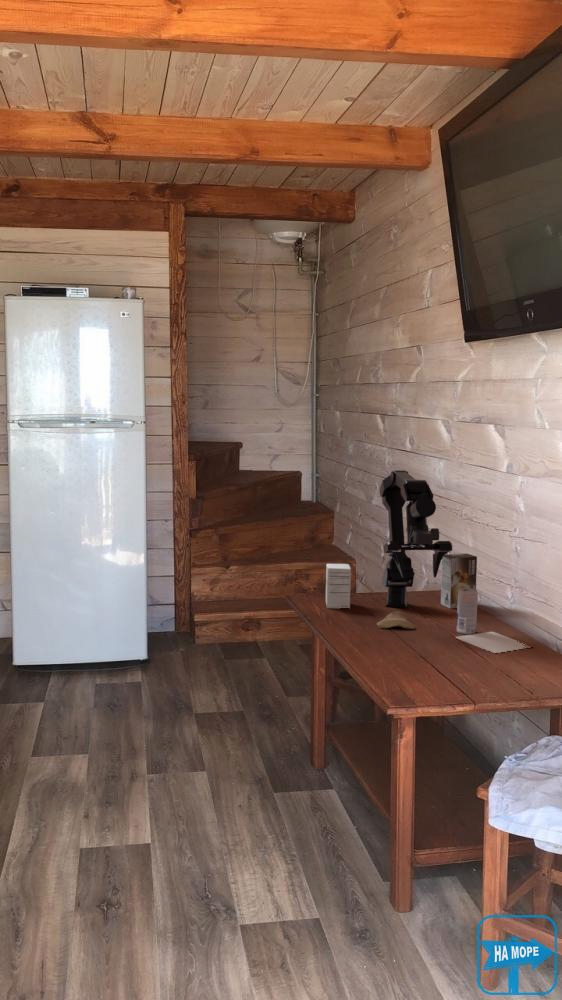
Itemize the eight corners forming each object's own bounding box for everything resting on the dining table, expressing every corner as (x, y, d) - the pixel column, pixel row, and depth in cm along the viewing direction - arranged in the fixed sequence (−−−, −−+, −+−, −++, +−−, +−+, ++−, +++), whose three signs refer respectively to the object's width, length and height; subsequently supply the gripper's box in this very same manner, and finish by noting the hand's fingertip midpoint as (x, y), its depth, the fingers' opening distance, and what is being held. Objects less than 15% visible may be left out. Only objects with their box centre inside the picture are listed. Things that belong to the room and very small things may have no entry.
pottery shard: (415, 635, 244) (411, 618, 254) (415, 621, 243) (411, 604, 252) (377, 636, 245) (374, 619, 254) (377, 622, 243) (374, 606, 253)
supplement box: (325, 602, 274) (326, 563, 272) (348, 603, 274) (349, 563, 272) (326, 608, 266) (327, 567, 265) (350, 609, 266) (351, 568, 265)
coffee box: (465, 602, 278) (467, 552, 276) (475, 607, 271) (478, 556, 270) (439, 604, 275) (441, 554, 273) (449, 608, 269) (451, 557, 267)
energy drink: (469, 628, 246) (471, 587, 244) (479, 634, 241) (481, 591, 239) (452, 630, 244) (454, 588, 243) (462, 635, 239) (464, 592, 238)
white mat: (455, 637, 236) (455, 636, 236) (492, 632, 242) (492, 631, 242) (495, 653, 222) (495, 652, 222) (533, 647, 228) (533, 646, 228)
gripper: (391, 518, 240) (393, 574, 237) (456, 518, 242) (460, 574, 239) (382, 524, 251) (384, 578, 248) (445, 524, 253) (447, 578, 250)
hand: (419, 577), depth 246 cm, fingers open, 9 cm apart
